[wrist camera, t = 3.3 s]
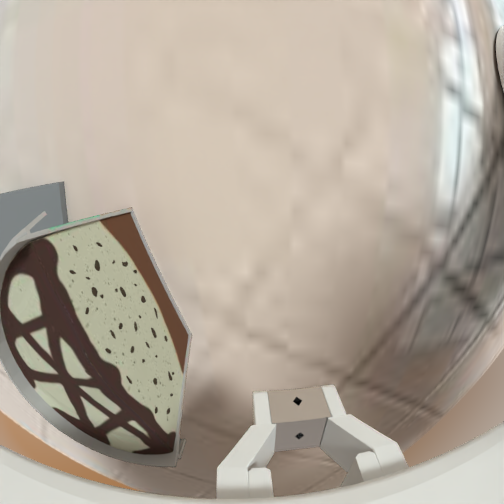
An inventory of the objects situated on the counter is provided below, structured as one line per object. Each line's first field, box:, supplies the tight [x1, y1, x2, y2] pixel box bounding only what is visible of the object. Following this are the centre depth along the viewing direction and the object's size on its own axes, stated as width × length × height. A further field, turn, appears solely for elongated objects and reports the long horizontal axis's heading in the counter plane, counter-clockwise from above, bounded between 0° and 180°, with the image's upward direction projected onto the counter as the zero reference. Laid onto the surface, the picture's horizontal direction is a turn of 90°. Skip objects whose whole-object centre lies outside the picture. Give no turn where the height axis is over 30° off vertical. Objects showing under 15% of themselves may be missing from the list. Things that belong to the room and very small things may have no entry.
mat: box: [0, 182, 68, 257], centre depth 17 cm, size 16×15×1 cm
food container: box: [0, 208, 192, 467], centre depth 13 cm, size 12×6×10 cm, turn 19°
